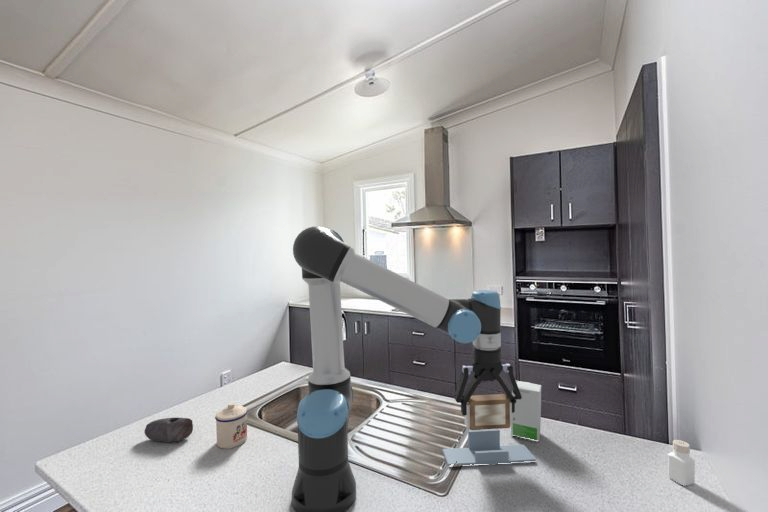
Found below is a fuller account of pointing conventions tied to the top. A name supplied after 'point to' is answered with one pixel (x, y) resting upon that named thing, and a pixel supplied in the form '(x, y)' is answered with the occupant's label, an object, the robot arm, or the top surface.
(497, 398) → the walnut frame
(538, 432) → the skincare box
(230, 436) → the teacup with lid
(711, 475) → the top surface
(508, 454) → the picture ledge
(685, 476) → the pepper shaker
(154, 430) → the perforated stone tool
